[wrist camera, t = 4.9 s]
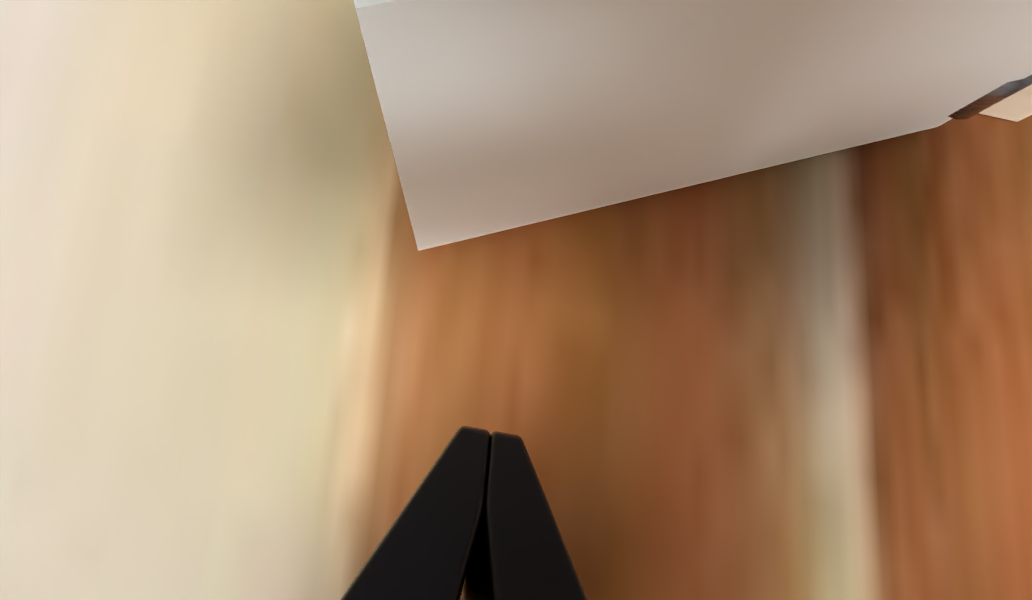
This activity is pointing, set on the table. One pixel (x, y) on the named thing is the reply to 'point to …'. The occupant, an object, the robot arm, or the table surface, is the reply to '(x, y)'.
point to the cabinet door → (660, 93)
